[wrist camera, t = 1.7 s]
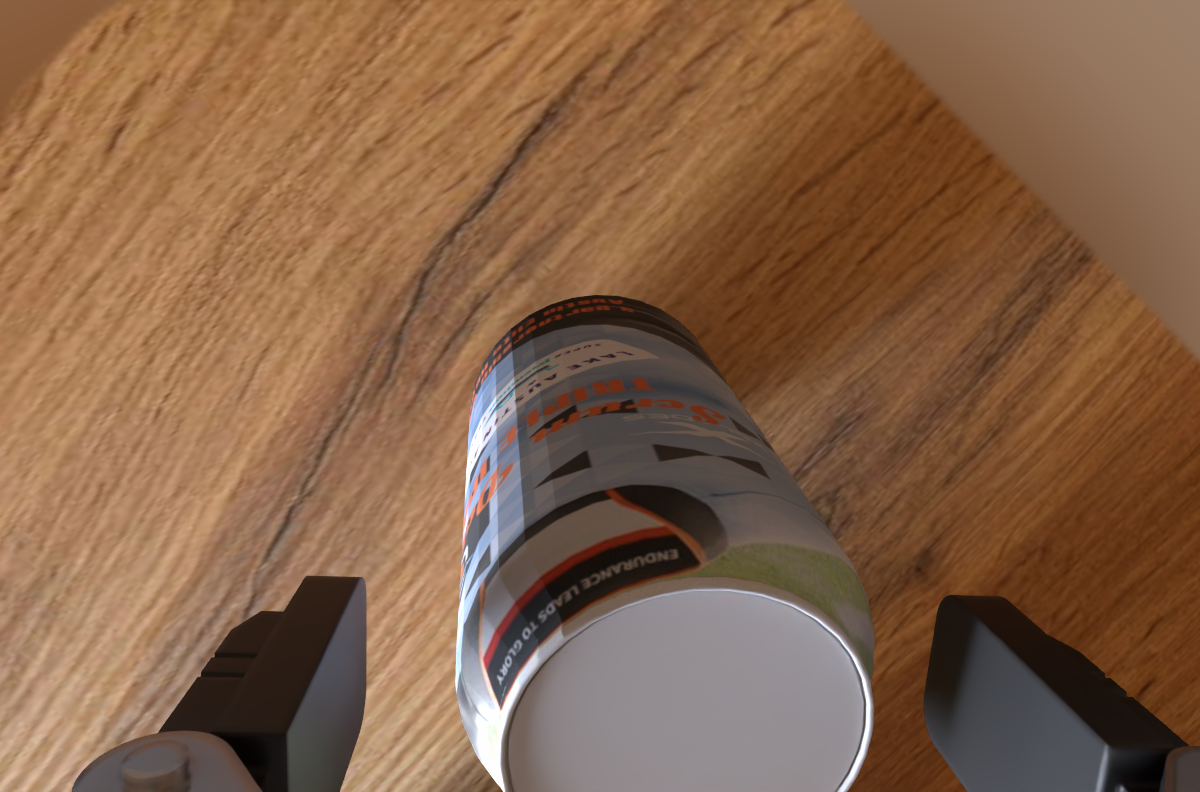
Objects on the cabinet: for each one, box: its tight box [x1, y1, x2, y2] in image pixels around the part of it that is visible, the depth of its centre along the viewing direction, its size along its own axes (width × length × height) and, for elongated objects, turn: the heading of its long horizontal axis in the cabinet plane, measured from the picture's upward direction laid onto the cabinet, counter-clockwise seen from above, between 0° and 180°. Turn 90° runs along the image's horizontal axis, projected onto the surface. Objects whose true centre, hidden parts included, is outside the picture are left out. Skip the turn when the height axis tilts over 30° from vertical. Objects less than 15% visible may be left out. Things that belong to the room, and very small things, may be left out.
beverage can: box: [456, 295, 874, 792], centre depth 16 cm, size 6×7×12 cm
